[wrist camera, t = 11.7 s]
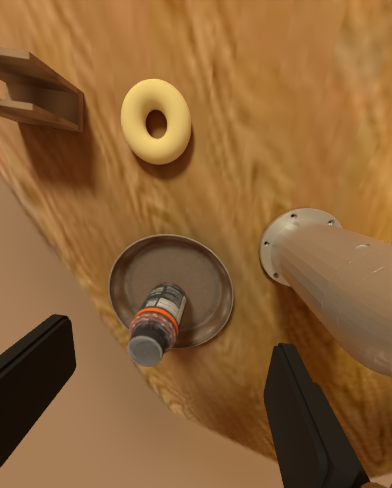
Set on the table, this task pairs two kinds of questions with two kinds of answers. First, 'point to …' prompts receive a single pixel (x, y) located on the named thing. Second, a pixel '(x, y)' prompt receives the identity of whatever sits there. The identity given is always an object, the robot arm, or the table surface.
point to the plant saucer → (181, 273)
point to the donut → (136, 111)
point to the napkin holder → (38, 93)
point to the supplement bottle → (156, 324)
